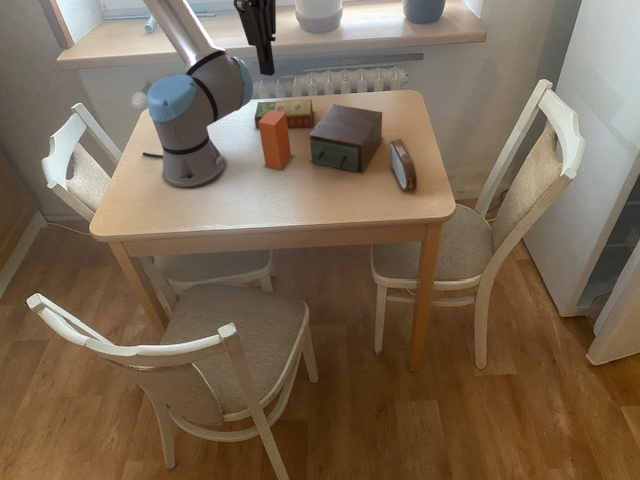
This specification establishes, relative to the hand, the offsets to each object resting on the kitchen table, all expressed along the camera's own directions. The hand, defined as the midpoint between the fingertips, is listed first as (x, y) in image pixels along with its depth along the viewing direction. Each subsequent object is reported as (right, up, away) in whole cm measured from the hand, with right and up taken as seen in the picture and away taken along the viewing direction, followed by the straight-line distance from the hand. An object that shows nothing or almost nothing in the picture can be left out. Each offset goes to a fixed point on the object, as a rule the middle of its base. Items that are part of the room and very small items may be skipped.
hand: (267, 73), depth 101 cm
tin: (+31, -21, +14) cm, 40 cm away
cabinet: (+18, -12, +24) cm, 32 cm away
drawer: (+17, -14, +21) cm, 30 cm away
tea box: (0, -15, +22) cm, 27 cm away
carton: (+1, -1, +36) cm, 36 cm away
